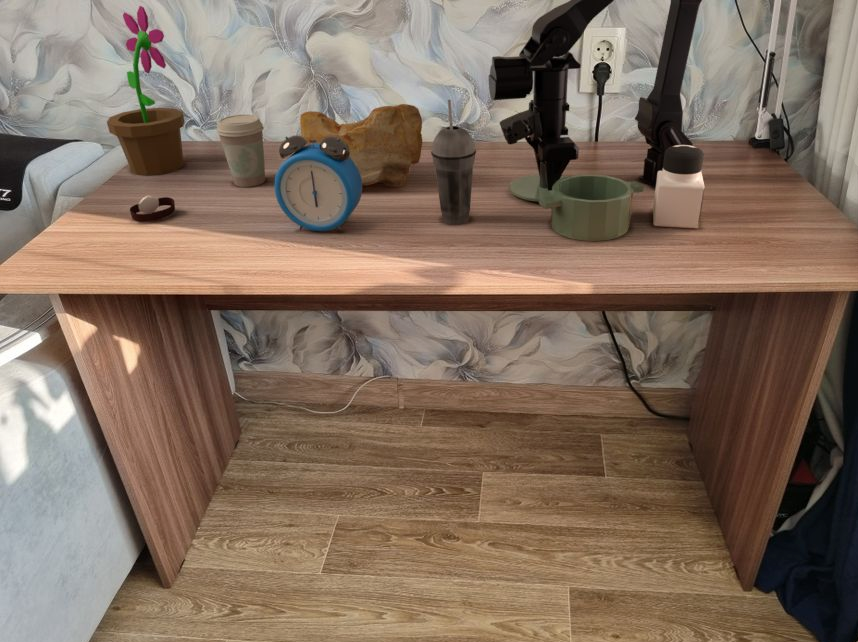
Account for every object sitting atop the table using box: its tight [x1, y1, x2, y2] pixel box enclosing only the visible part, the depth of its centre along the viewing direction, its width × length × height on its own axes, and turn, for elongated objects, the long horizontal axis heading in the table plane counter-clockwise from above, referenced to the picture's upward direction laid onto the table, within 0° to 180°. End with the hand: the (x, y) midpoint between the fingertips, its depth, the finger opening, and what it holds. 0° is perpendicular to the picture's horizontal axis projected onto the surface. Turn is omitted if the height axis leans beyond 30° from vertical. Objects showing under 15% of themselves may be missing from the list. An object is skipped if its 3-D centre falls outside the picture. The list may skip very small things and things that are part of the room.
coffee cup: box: [216, 113, 266, 188], centre depth 139 cm, size 8×8×12 cm
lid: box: [508, 161, 569, 203], centre depth 132 cm, size 14×14×6 cm
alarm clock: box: [274, 135, 363, 233], centre depth 118 cm, size 13×6×15 cm, turn 81°
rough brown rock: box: [299, 103, 423, 188], centre depth 138 cm, size 23×17×15 cm
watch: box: [129, 194, 176, 223], centre depth 126 cm, size 8×5×4 cm, turn 135°
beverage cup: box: [430, 99, 477, 226], centre depth 118 cm, size 7×7×20 cm
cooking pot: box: [538, 174, 644, 242], centre depth 118 cm, size 13×18×6 cm
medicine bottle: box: [652, 145, 706, 229], centre depth 118 cm, size 7×7×12 cm
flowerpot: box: [106, 5, 186, 176], centre depth 143 cm, size 14×14×30 cm
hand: (546, 184), depth 133 cm, fingers open, 6 cm apart
